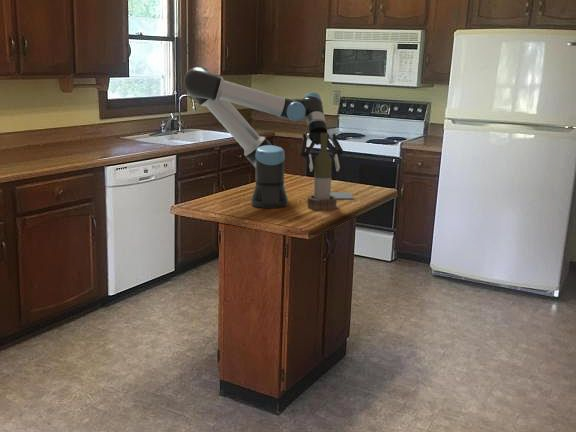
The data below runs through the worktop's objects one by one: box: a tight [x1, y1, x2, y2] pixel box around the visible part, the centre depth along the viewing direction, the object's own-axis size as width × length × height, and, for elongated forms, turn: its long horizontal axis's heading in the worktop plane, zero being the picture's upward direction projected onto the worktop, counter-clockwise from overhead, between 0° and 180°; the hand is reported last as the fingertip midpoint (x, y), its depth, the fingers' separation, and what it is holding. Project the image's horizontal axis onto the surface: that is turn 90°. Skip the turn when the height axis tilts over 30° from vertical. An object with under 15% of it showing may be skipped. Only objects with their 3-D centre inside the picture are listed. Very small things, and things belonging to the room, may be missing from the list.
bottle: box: [313, 132, 333, 200], centre depth 257 cm, size 7×7×30 cm
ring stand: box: [307, 194, 338, 211], centre depth 260 cm, size 11×11×4 cm
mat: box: [330, 191, 355, 201], centre depth 281 cm, size 12×12×1 cm
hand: (324, 169), depth 254 cm, fingers open, 10 cm apart
